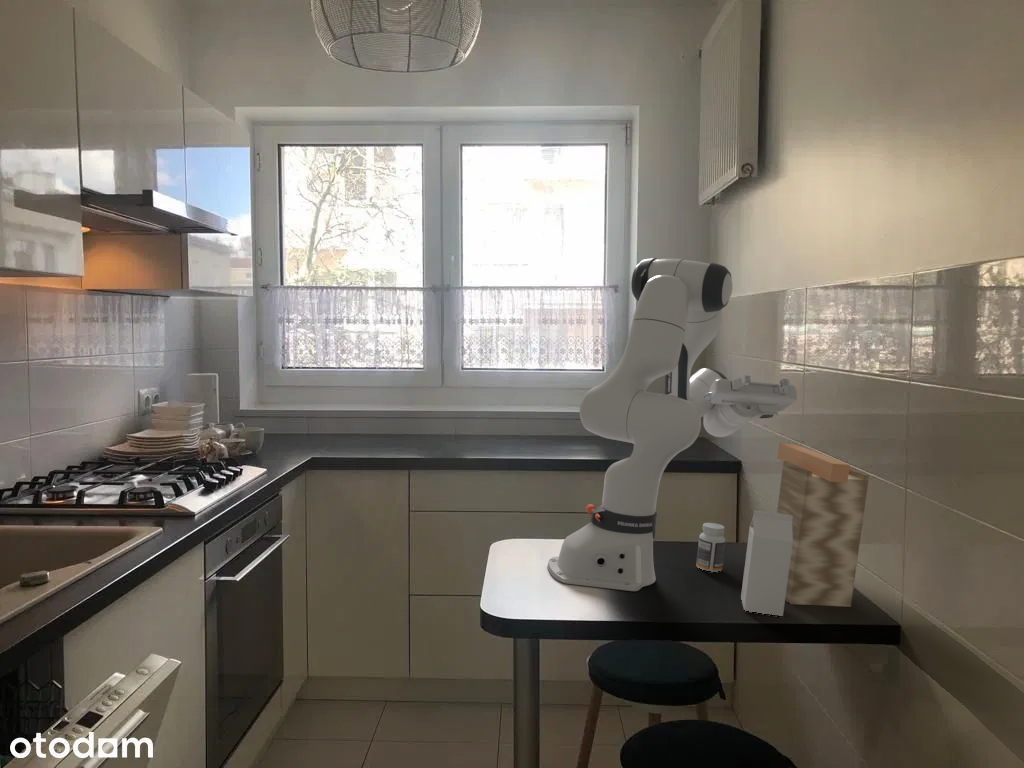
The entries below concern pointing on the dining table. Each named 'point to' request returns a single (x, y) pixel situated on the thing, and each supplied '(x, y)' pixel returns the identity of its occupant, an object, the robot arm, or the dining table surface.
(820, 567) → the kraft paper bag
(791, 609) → the dining table surface
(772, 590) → the milk carton
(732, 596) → the dining table surface
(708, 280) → the robot arm
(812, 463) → the bar
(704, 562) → the pill bottle
